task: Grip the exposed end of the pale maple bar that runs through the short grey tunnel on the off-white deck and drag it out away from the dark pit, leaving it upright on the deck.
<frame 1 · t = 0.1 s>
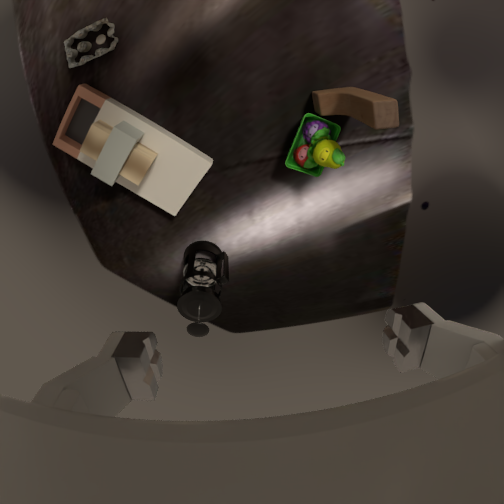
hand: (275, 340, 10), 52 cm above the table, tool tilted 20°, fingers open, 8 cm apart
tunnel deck: (130, 146, 54), on the table
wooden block: (333, 98, 52), on the table
egg carton: (94, 43, 40), on the table
french press: (205, 255, 72), on the table
maple bar: (121, 148, 51), point 3 cm above the table, touching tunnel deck
fruit basket: (309, 139, 57), on the table
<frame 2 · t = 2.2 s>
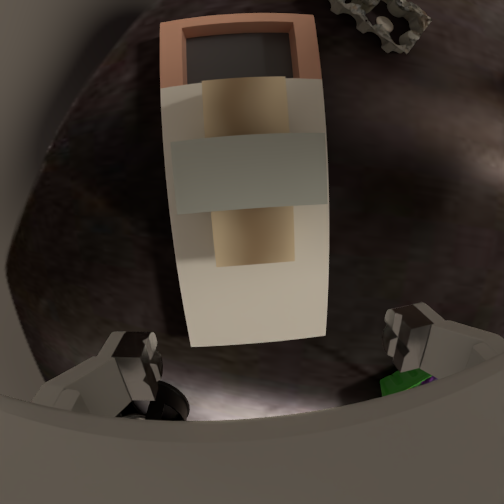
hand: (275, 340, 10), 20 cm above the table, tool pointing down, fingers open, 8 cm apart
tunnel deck: (247, 178, 28), on the table
egg carton: (370, 17, 23), on the table
french press: (160, 403, 36), on the table
maple bar: (247, 169, 24), point 3 cm above the table, touching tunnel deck
fruit basket: (406, 378, 37), on the table
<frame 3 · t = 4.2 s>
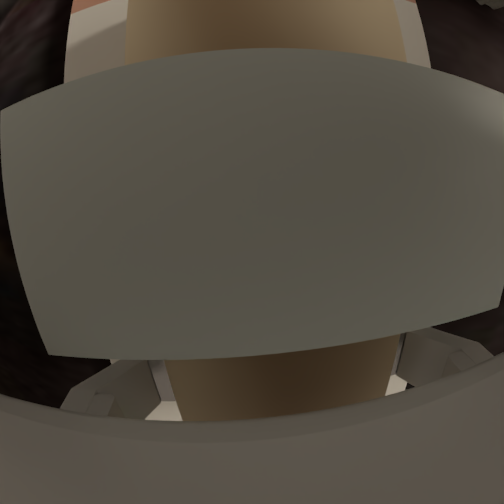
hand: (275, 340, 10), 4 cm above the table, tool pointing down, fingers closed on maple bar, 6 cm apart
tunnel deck: (258, 201, 13), on the table
maple bar: (264, 183, 9), point 3 cm above the table, touching gripper, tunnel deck
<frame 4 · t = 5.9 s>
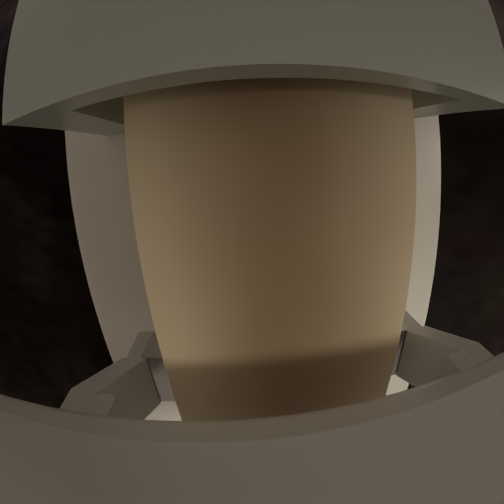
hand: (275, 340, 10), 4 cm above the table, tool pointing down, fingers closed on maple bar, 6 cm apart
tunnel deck: (253, 93, 11), on the table
maple bar: (264, 180, 9), point 3 cm above the table, touching gripper
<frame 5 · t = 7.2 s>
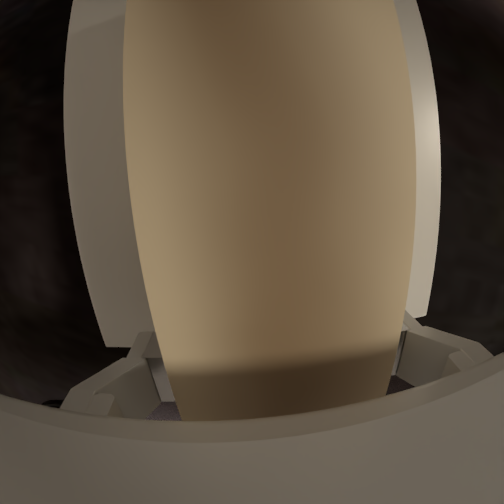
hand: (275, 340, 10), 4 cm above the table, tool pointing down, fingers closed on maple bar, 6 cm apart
maple bar: (263, 178, 9), point 3 cm above the table, touching gripper
when the fingers open (4 cm above the table, at t = 7.9 s): maple bar stays where it is, resting on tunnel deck.
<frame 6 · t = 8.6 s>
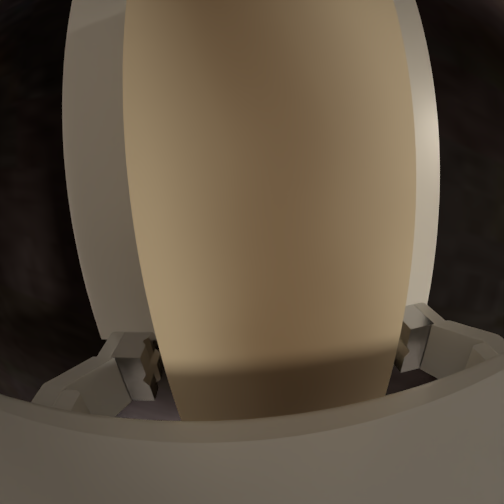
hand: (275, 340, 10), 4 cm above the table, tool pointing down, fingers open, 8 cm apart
maple bar: (263, 176, 9), point 3 cm above the table, touching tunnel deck
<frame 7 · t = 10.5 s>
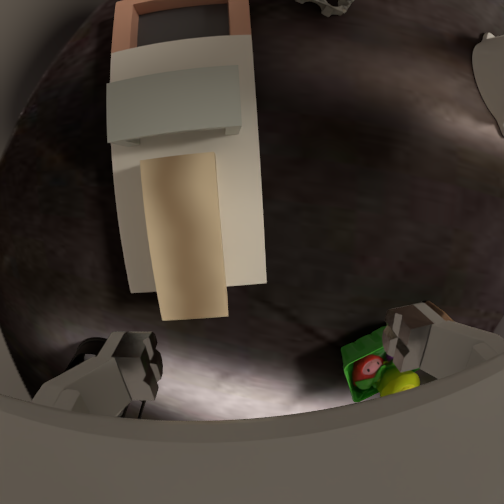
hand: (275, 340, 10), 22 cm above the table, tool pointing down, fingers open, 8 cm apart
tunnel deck: (185, 128, 28), on the table
french press: (111, 366, 35), on the table
maple bar: (189, 232, 28), point 3 cm above the table, touching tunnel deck
fruit basket: (373, 348, 38), on the table
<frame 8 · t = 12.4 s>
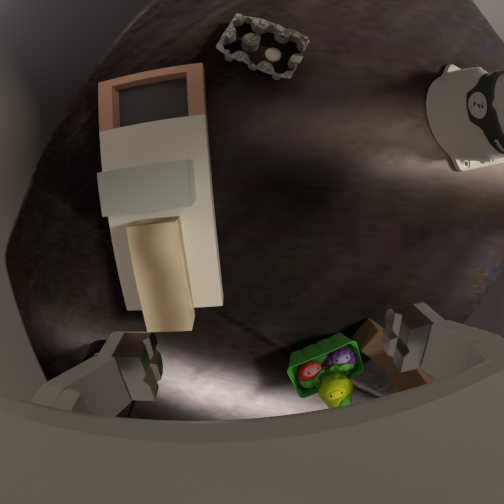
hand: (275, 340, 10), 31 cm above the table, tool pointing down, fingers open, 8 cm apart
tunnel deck: (160, 190, 38), on the table
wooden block: (374, 336, 48), on the table
egg carton: (260, 52, 34), on the table
maple bar: (165, 270, 38), point 3 cm above the table, touching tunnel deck
fruit basket: (320, 354, 48), on the table
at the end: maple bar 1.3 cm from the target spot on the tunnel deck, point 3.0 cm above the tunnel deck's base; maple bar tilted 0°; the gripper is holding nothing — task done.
